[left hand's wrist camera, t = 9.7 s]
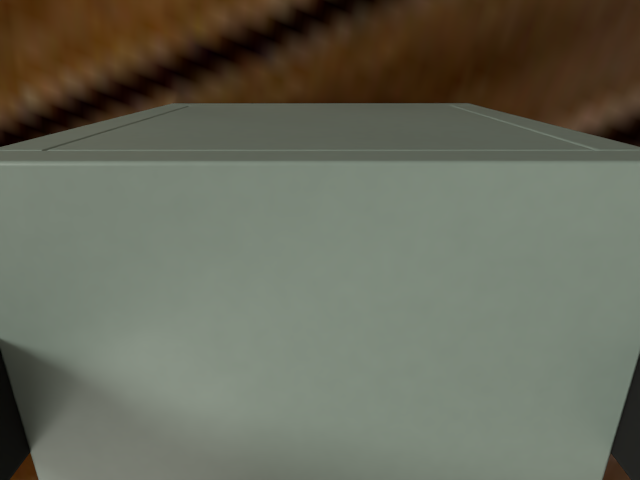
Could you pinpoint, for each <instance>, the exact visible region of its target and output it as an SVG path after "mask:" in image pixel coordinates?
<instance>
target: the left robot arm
mask: <svg viewBox="0 0 640 480" xmlns="http://www.w3.org/2000/svg"><path fill="white" fill-rule="evenodd" d="M29 453H30V448H29V445H28V442H27V438H26V435H25V432H24V428H23V425H22V422H21V418H20V415H19V412H18V408H17V405H16V402H15V398H14V395H13V392H12V388H11V385H10V381H9V378H8V375H7V371H6V368H5V365H4V361H3V358H2V355H1V351H0V480H10V478H11V477H12V476H13V474H14V473H15V472H16V470H17V469H18V468H19V466H20V465H21V464H22V462H23V461H24V460H25V458H26V457H27V456H28V454H29ZM611 453H612V455H613V456H614V457H615V459H616V460H617V461H618V463H619V464H620V465H621V467H622V468H623V469H624V471H625V472H626V473H627V475H628V476H629V477H630V479H631V480H640V356H639V359H638V362H637V366H636V369H635V373H634V376H633V379H632V383H631V386H630V389H629V393H628V396H627V399H626V403H625V406H624V409H623V413H622V416H621V419H620V423H619V426H618V429H617V433H616V436H615V440H614V443H613V446H612V450H611Z"/></svg>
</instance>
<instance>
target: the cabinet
mask: <svg viewBox="0 0 640 480" xmlns="http://www.w3.org/2000/svg"><path fill="white" fill-rule="evenodd" d="M0 351H1V355H2V358H3V361H4V365H5V368H6V371H7V375H8V378H9V381H10V385H11V388H12V392H13V395H14V398H15V402H16V405H17V408H18V412H19V415H20V418H21V422H22V425H23V428H24V432H25V435H26V438H27V442H28V445H29V448H30V452H31V455H32V458H33V462H34V465H35V469H36V472H37V475H38V479H39V480H603V476H604V473H605V470H606V466H607V463H608V460H609V456H610V453H611V450H612V446H613V443H614V440H615V436H616V433H617V429H618V426H619V423H620V419H621V416H622V413H623V409H624V406H625V403H626V399H627V396H628V393H629V389H630V386H631V383H632V379H633V376H634V373H635V369H636V366H637V362H638V359H639V356H640V147H637V146H633V145H629V144H625V143H621V142H618V141H614V140H610V139H606V138H602V137H598V136H594V135H590V134H586V133H582V132H578V131H574V130H570V129H567V128H563V127H559V126H555V125H551V124H547V123H543V122H539V121H535V120H531V119H527V118H523V117H519V116H516V115H512V114H508V113H504V112H500V111H496V110H492V109H488V108H484V107H480V106H476V105H473V104H469V103H191V104H169V105H166V106H161V107H157V108H153V109H149V110H145V111H141V112H137V113H134V114H130V115H126V116H122V117H118V118H114V119H110V120H106V121H102V122H98V123H94V124H90V125H86V126H82V127H78V128H75V129H71V130H67V131H63V132H59V133H55V134H51V135H47V136H43V137H39V138H35V139H31V140H27V141H23V142H19V143H16V144H12V145H8V146H4V147H0Z"/></svg>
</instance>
